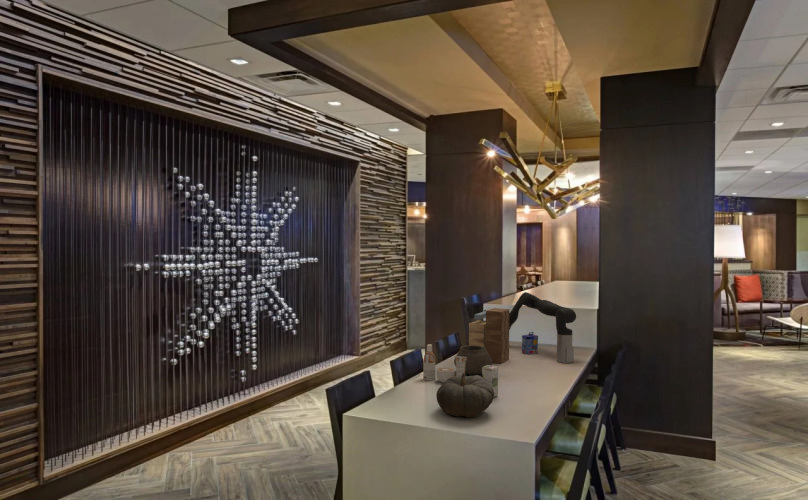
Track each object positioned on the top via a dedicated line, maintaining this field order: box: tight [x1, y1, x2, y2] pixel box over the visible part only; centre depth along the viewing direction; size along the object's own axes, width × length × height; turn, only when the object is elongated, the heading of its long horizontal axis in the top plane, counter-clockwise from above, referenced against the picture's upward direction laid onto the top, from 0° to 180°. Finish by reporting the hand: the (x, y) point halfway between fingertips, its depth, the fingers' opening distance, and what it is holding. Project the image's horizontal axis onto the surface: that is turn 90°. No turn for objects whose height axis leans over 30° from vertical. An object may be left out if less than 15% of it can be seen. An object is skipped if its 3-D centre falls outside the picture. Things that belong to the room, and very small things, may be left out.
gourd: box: [436, 373, 495, 418], centre depth 234 cm, size 25×25×17 cm
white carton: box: [481, 364, 499, 398], centre depth 260 cm, size 6×6×14 cm
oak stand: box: [468, 319, 486, 348], centre depth 355 cm, size 18×10×22 cm, turn 152°
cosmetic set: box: [422, 343, 467, 384], centre depth 288 cm, size 25×9×19 cm, turn 60°
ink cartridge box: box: [521, 331, 539, 355], centre depth 364 cm, size 10×6×14 cm, turn 115°
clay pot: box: [453, 344, 493, 376], centre depth 305 cm, size 22×21×15 cm
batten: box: [474, 310, 487, 321], centre depth 360 cm, size 26×4×3 cm, turn 152°
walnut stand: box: [485, 307, 510, 365], centre depth 340 cm, size 16×10×32 cm, turn 152°
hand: (487, 311), depth 366 cm, fingers closed on batten, 4 cm apart
